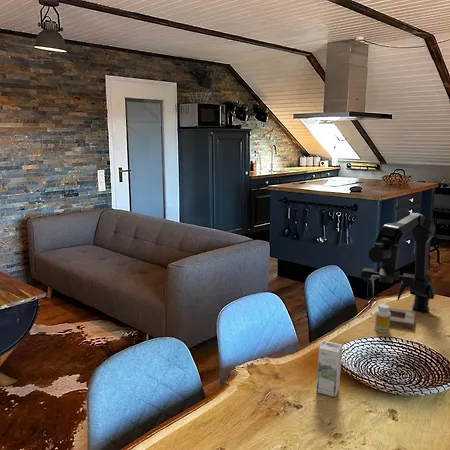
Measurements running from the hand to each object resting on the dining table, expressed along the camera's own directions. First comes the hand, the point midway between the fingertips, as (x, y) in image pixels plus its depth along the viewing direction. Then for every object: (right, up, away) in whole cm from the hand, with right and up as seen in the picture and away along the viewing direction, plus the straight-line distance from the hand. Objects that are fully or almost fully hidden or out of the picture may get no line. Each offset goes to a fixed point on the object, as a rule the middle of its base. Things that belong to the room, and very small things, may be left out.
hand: (385, 298), depth 178 cm
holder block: (+8, -11, +12) cm, 18 cm away
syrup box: (-31, -21, -40) cm, 55 cm away
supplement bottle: (0, -13, +3) cm, 13 cm away
